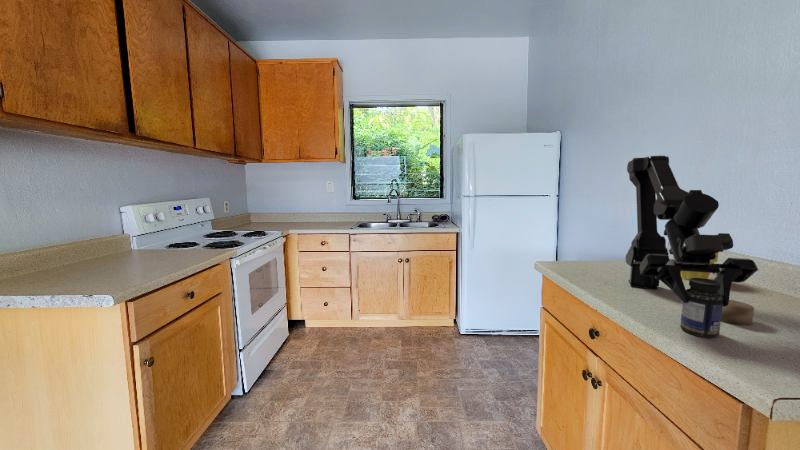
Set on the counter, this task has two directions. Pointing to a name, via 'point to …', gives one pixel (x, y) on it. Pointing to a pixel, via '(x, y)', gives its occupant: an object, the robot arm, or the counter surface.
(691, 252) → the robot arm
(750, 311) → the stand
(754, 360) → the counter surface
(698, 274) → the plant pot
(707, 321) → the pill bottle
